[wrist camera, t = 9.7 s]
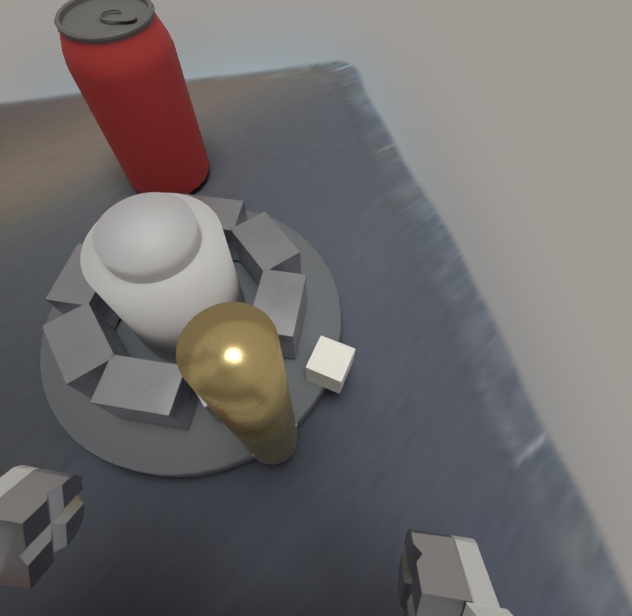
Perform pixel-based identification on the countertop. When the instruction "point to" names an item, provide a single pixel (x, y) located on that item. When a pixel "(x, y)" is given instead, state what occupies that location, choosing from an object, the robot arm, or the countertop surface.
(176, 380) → the gear with peg
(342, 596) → the countertop surface
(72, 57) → the beer can
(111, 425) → the flange base
